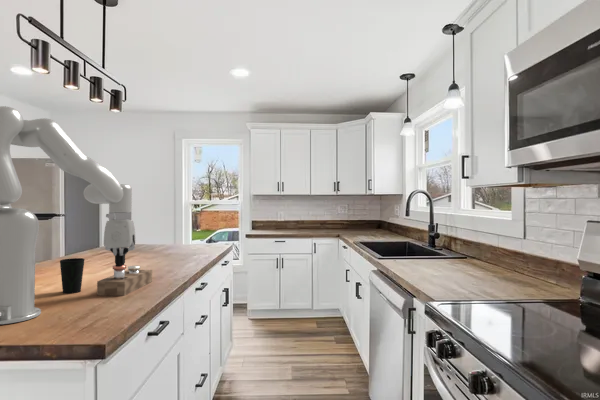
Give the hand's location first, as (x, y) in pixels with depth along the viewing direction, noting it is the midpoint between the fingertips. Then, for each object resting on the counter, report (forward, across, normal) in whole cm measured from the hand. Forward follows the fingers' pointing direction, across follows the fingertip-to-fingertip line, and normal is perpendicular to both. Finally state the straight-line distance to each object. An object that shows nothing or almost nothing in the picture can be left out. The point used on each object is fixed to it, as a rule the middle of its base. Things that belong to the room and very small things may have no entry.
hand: (120, 265), depth 130 cm
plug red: (+7, 0, 0) cm, 7 cm away
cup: (+10, -17, -2) cm, 20 cm away
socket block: (+10, 0, +5) cm, 11 cm away
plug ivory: (+9, 0, +11) cm, 14 cm away
